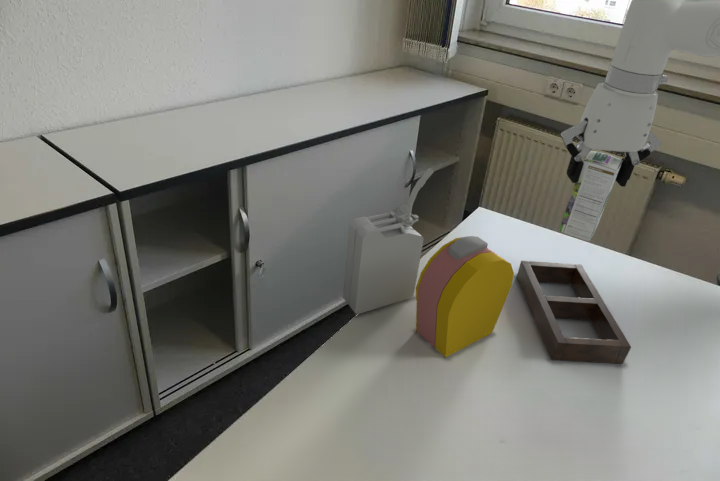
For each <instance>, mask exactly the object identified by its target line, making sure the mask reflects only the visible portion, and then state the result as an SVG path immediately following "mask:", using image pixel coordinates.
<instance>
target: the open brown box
mask: <svg viewBox="0 0 720 481" xmlns="http://www.w3.org/2000/svg"><path fill="white" fill-rule="evenodd" d="M589 276H590V275H589V274H588V272H587V271H586V269H585V268H584V266H583V265H582V264H581V263H579V264H578V263H566V262H565V263H564V262H563V263H562V262H550V261H549V262H546V261H533V260H520V263H519V267H518V269H517V273H516V279H517V282H518V284H519V286H520V288H521V291H522V293H523V295H524V298H525V300H526V302H527V305H528V307H529V310H530V312H531V314H532V316H533V319H534V321H535V324H536V326H537V329H538V331H539V334H540V336H541V338H542V340H543V343H544V347H545V349H546V350H547V353H548V355H549V357H550V360H552V361H562V362H563V361H564V362H581V363H597V364H599V363H601V364H618V365H624V363H625V361H626V358H627V356H628V355H629V353H630V350H631V349H632V346H631V344H630V342H629V341H628V339H627V337H626V336H625V334H624V332H623V330H622V329H621V328H620V326H619V324H618V323H617V321H616V320H615V318H614V316H613V315H612V313H611V311H610V309H609V308H608V305H607V304H606V303H605V301H604V300H603V297H602V296H601V294H600V293H599V291H598V289H597V288H596V286H595V285H594V283H593V281H592V280H591V278H590V277H589ZM540 283H550V284H563V285H564V284H567V285H571V286H572V288H573V290H574V292H575V294H576V295H577V297H573V296H560V295H559V296H558V295H557V296H555V295H545V294H544V291H543V289H542V287H541V284H540ZM557 319H563V320H565V319H566V320H581V321H582V320H583V321H590V322H591V323H592V325H593V327H594V329H595V331H596V332H597V334H598V336H599V338H588V337H587V338H585V337H568V336H564V335H563V331H562V330H561V328H560V326H559V323H558V321H557Z"/></svg>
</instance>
